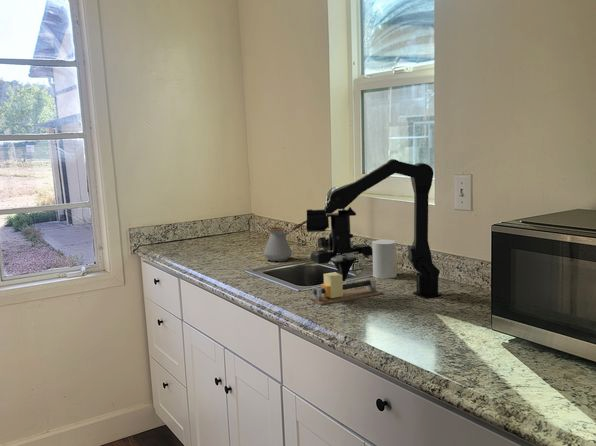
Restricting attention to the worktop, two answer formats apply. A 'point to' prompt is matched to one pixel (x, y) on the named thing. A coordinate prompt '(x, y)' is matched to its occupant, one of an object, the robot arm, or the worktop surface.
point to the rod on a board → (346, 292)
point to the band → (326, 290)
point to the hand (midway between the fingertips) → (343, 281)
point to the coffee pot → (279, 244)
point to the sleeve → (334, 284)
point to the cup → (384, 259)
